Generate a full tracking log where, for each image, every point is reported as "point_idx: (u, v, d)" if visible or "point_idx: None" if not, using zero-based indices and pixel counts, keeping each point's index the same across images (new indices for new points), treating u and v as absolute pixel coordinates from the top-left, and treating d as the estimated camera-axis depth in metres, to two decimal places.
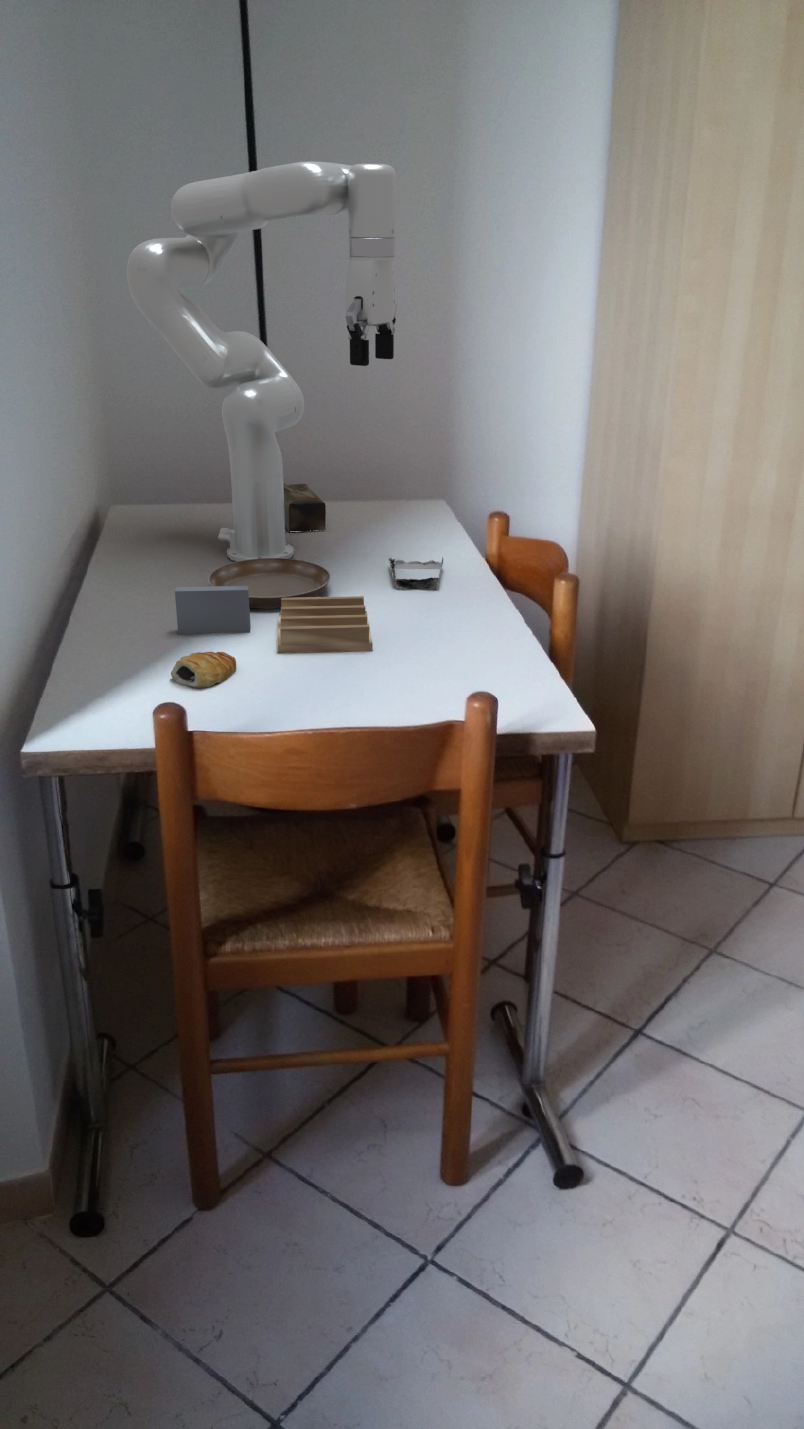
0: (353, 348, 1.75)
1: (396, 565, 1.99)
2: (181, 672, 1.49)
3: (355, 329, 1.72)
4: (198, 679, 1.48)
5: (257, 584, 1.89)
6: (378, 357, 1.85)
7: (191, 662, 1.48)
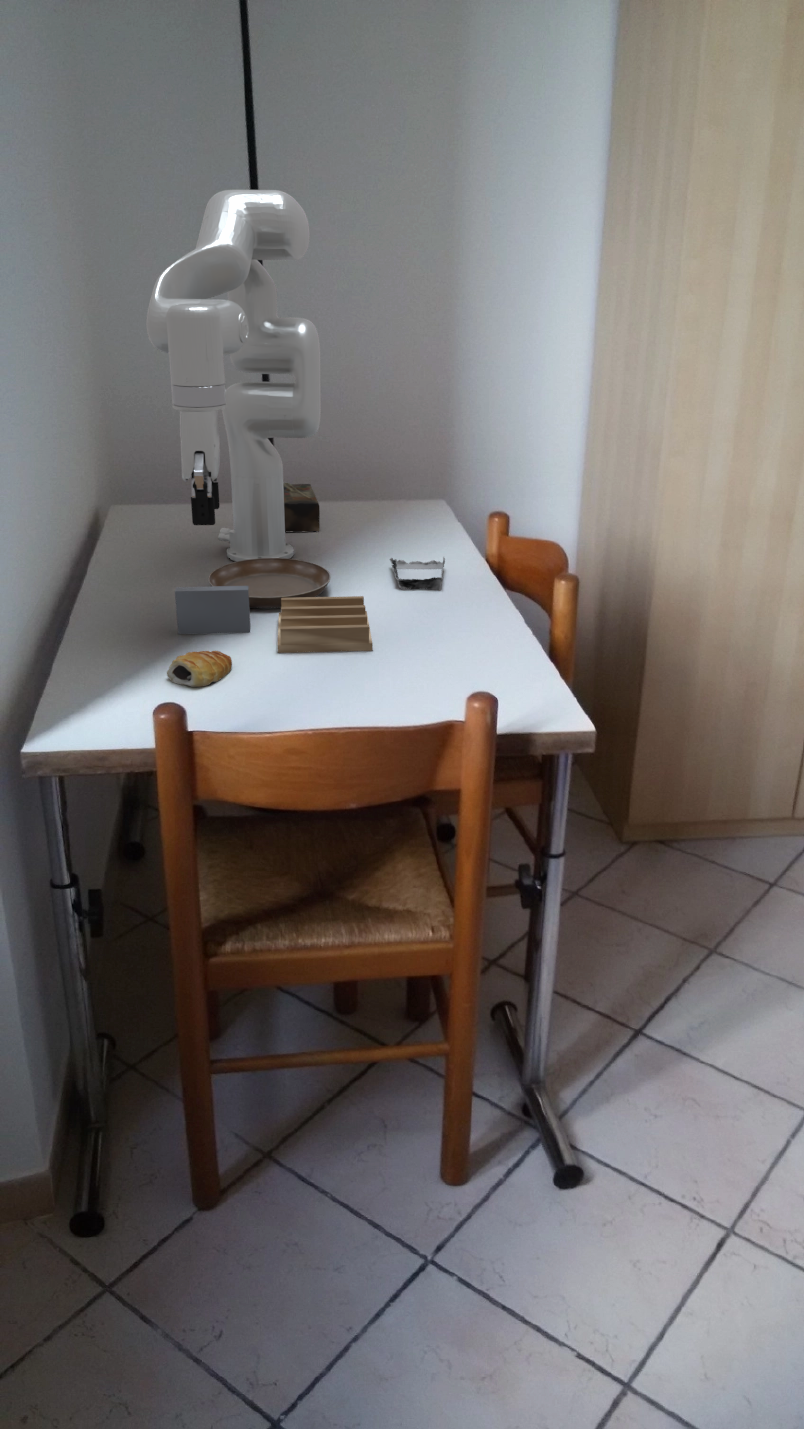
0: (198, 507, 1.54)
1: (397, 565, 1.99)
2: (177, 672, 1.49)
3: (204, 488, 1.52)
4: (195, 678, 1.48)
5: (257, 584, 1.89)
6: None
7: (187, 661, 1.48)
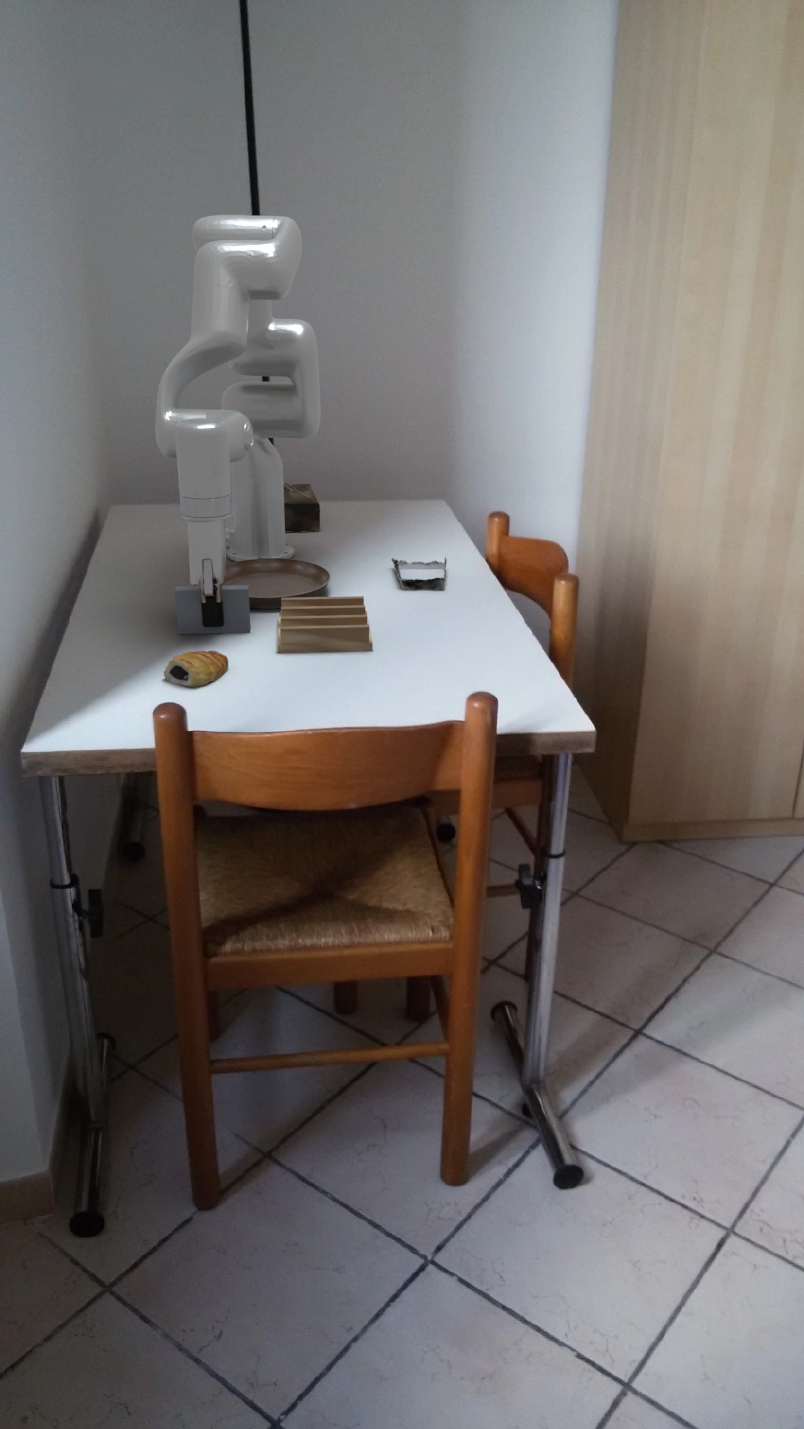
0: (208, 611, 1.65)
1: (399, 566, 1.99)
2: (174, 672, 1.49)
3: (214, 596, 1.63)
4: (192, 678, 1.48)
5: (257, 584, 1.89)
6: None
7: (184, 661, 1.49)
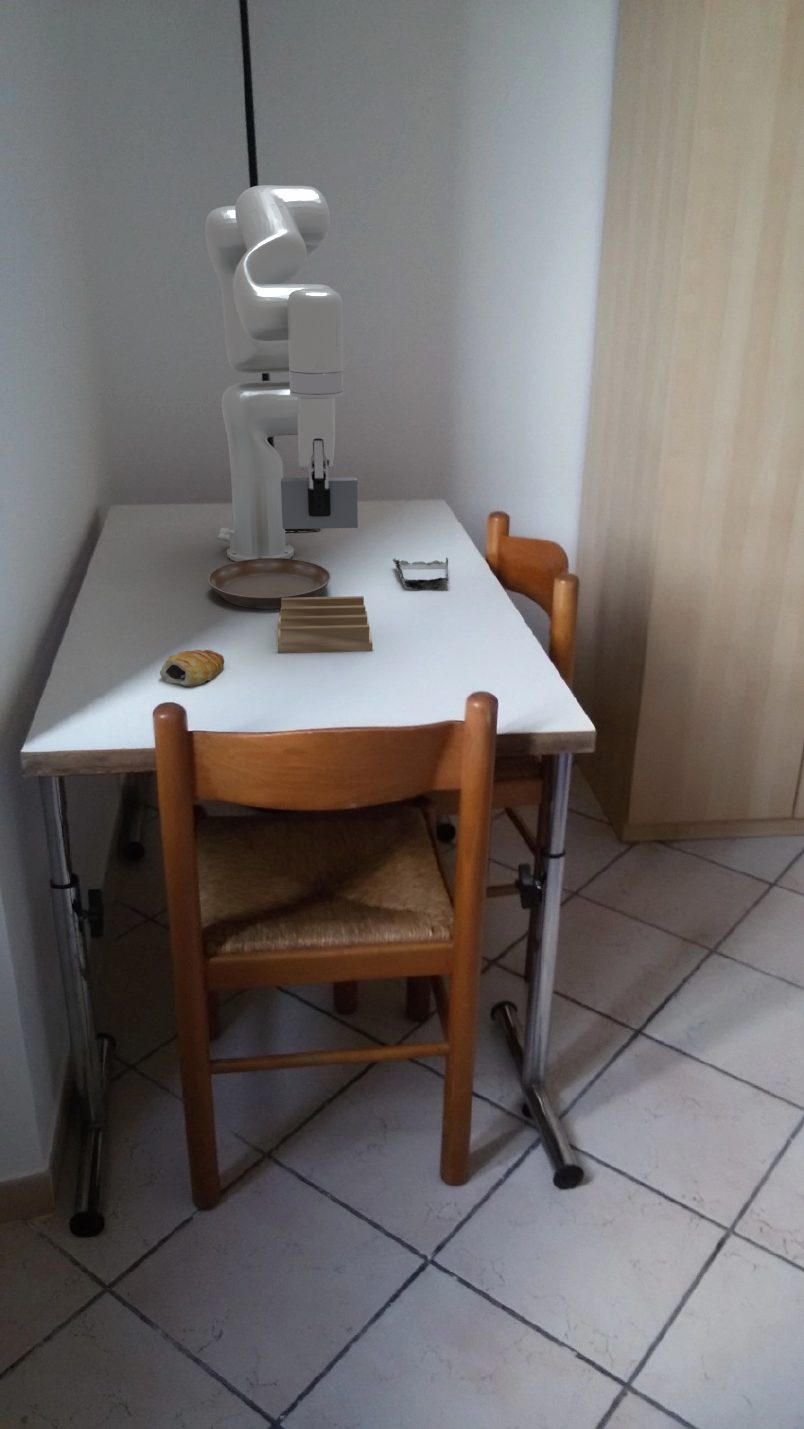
0: (315, 499, 1.56)
1: (400, 566, 1.99)
2: (171, 671, 1.50)
3: (323, 481, 1.54)
4: (189, 677, 1.48)
5: (257, 584, 1.89)
6: None
7: (181, 661, 1.49)
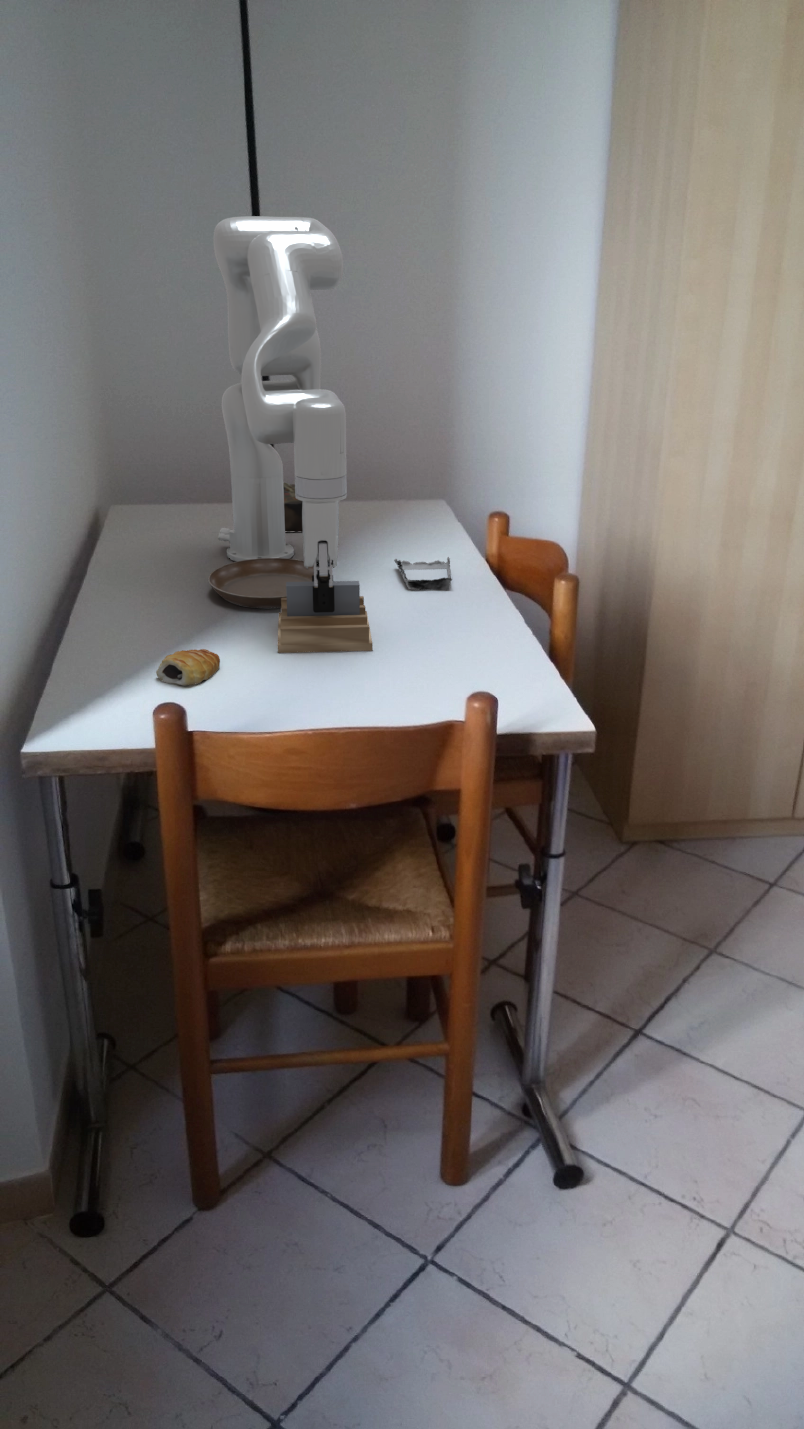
0: (319, 596, 1.61)
1: (402, 566, 1.99)
2: (167, 671, 1.50)
3: (327, 580, 1.59)
4: (186, 677, 1.48)
5: (257, 584, 1.89)
6: None
7: (178, 660, 1.49)
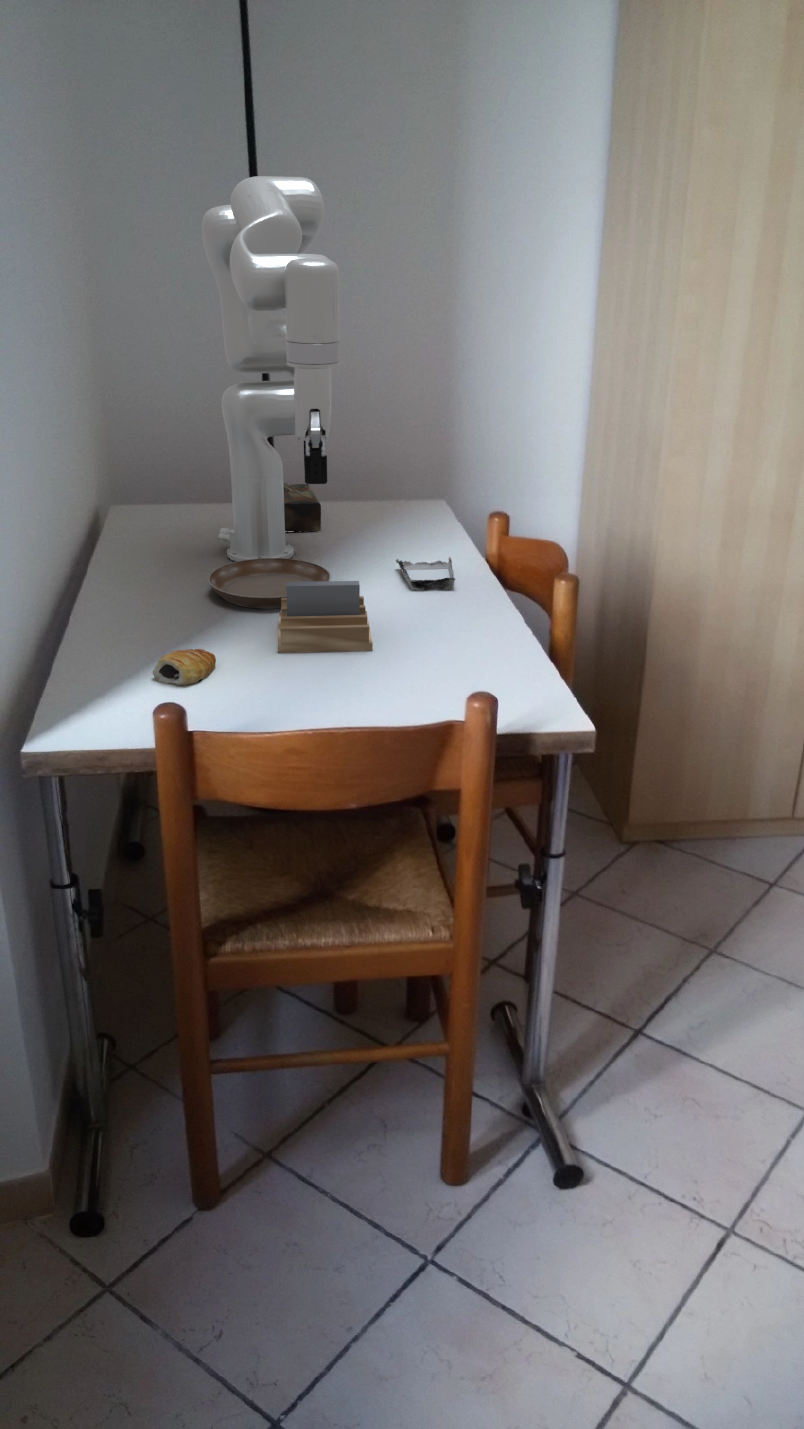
0: (311, 466, 1.54)
1: (403, 566, 1.98)
2: (164, 671, 1.50)
3: (320, 447, 1.51)
4: (183, 676, 1.48)
5: (257, 584, 1.89)
6: None
7: (174, 660, 1.49)
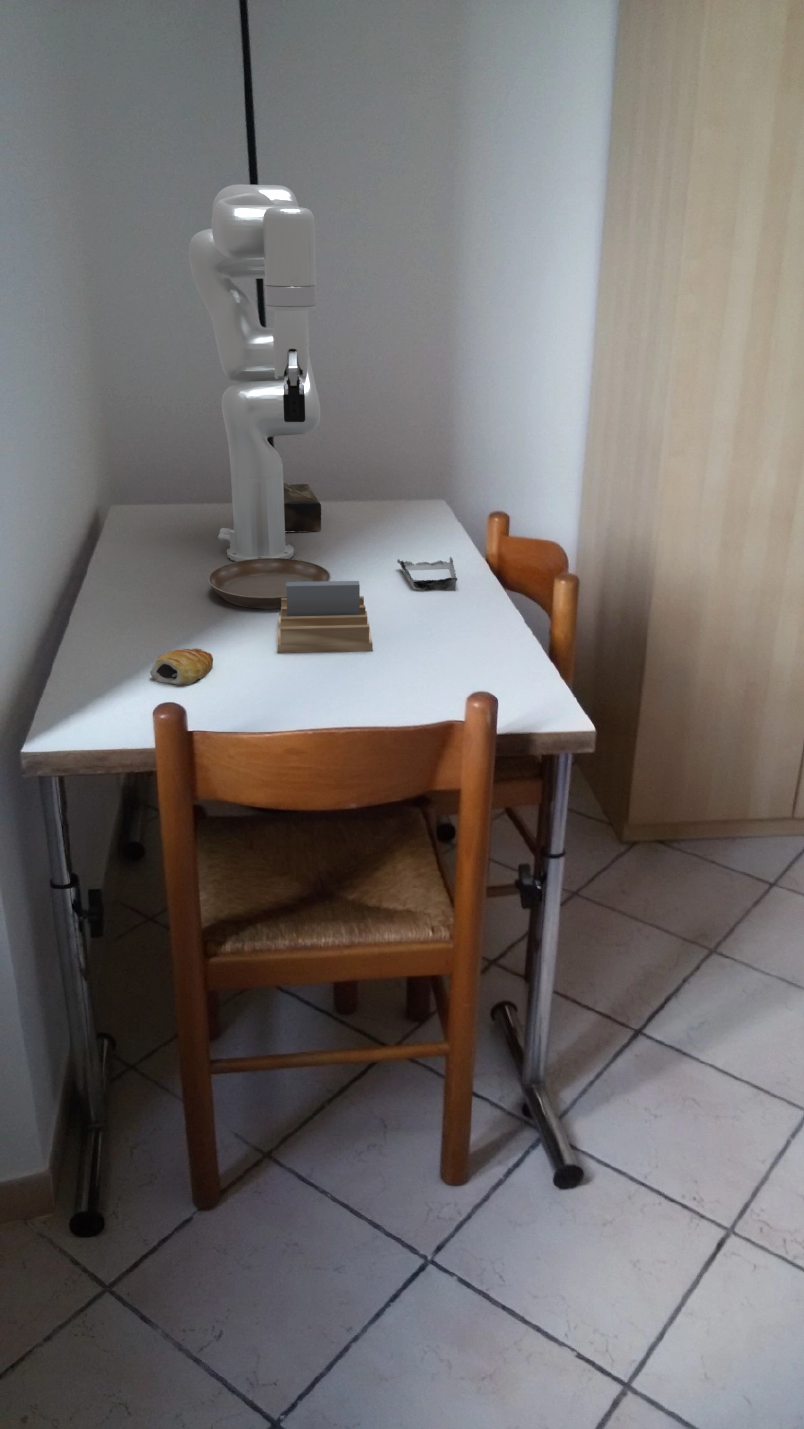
0: (290, 404, 1.63)
1: None
2: (162, 670, 1.50)
3: (297, 384, 1.60)
4: (181, 676, 1.48)
5: (257, 584, 1.89)
6: None
7: (172, 660, 1.49)
